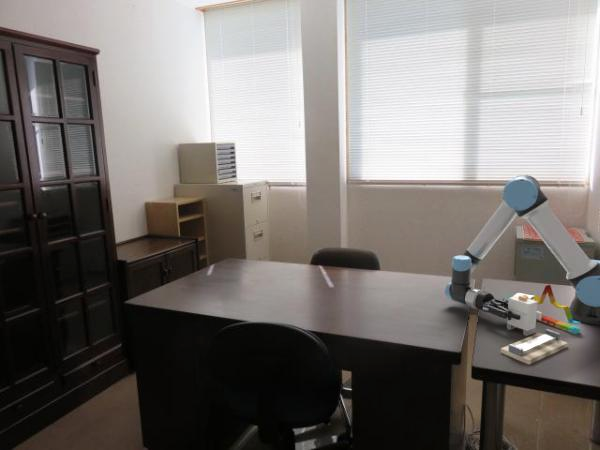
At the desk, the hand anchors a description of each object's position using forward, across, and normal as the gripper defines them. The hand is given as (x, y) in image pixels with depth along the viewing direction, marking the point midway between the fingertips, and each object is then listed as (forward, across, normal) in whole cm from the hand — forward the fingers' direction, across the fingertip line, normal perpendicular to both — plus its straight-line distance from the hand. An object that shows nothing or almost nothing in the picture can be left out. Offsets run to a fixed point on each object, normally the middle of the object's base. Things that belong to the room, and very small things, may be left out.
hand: (535, 318), depth 162 cm
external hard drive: (-24, -30, -7) cm, 39 cm away
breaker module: (-5, 0, -7) cm, 8 cm away
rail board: (+7, +10, -7) cm, 14 cm away
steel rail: (+7, +10, -5) cm, 13 cm away
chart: (-8, -15, -7) cm, 18 cm away
